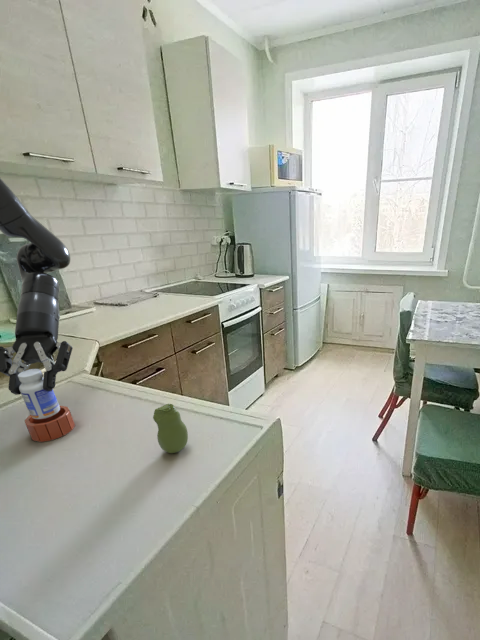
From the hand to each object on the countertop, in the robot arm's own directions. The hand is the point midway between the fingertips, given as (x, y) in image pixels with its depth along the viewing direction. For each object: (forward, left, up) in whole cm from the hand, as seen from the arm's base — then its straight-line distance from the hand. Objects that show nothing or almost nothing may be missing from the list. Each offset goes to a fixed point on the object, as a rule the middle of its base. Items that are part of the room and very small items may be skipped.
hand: (31, 391), depth 72 cm
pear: (+30, +3, -11) cm, 32 cm away
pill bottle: (-1, +2, -6) cm, 7 cm away
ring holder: (-1, +1, -11) cm, 11 cm away
